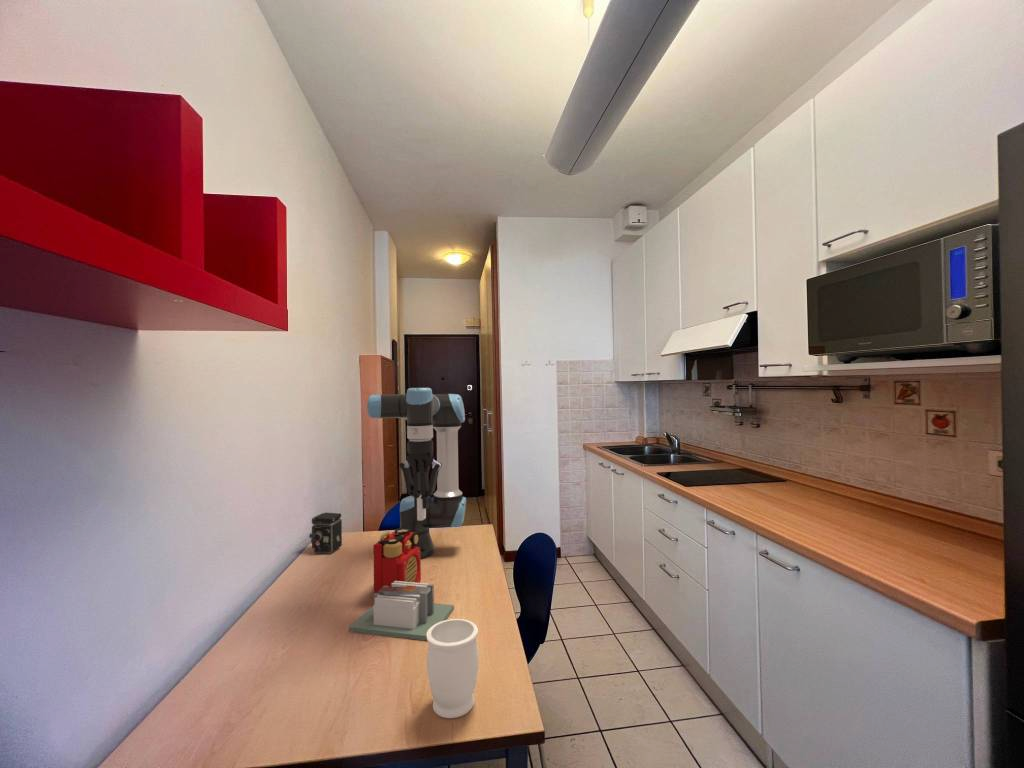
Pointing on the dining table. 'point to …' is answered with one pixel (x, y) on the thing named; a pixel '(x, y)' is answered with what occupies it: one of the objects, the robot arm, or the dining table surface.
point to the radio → (396, 558)
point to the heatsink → (402, 614)
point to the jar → (452, 666)
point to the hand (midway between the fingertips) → (421, 519)
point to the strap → (404, 590)
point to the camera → (326, 532)
